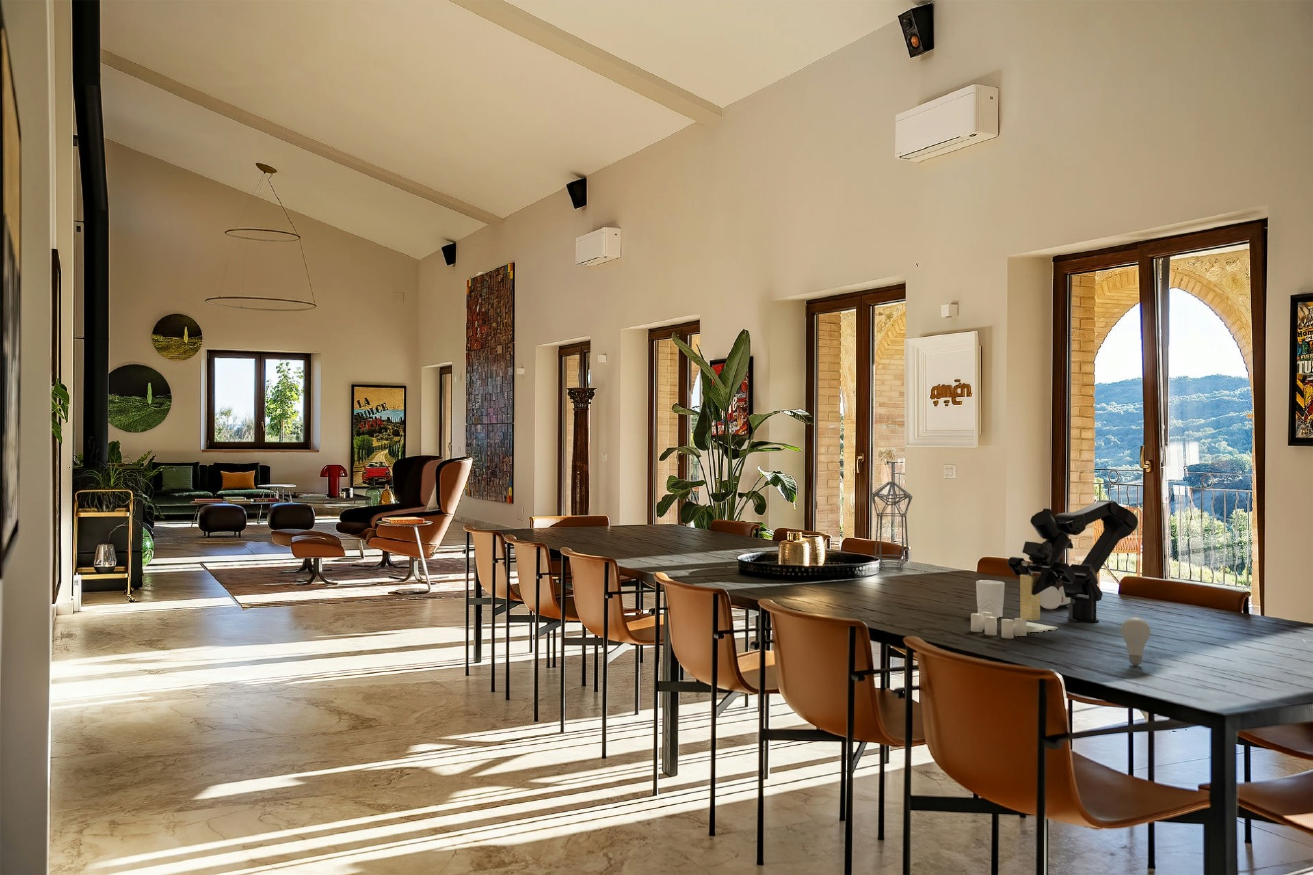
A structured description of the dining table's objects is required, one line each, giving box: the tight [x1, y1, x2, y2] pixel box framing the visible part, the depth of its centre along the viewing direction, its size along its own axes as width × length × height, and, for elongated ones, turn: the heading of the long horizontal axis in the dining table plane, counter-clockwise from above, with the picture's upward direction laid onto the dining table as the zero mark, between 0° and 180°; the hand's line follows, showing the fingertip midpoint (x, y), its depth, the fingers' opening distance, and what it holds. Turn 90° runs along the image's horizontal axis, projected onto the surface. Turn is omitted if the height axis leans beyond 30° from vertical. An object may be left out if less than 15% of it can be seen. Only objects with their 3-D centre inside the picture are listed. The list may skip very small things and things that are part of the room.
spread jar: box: [1040, 575, 1070, 610], centre depth 311 cm, size 12×11×12 cm
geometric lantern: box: [870, 480, 913, 571], centre depth 400 cm, size 16×16×35 cm
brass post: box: [1019, 573, 1041, 622], centre depth 275 cm, size 4×4×12 cm
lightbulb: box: [1120, 617, 1151, 667], centre depth 230 cm, size 6×6×11 cm
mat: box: [1027, 621, 1058, 633], centre depth 275 cm, size 10×10×1 cm
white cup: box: [975, 579, 1005, 619], centre depth 294 cm, size 8×8×10 cm
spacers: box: [970, 612, 1028, 639], centre depth 268 cm, size 8×14×4 cm, turn 32°
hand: (1026, 593), depth 275 cm, fingers closed on brass post, 4 cm apart
